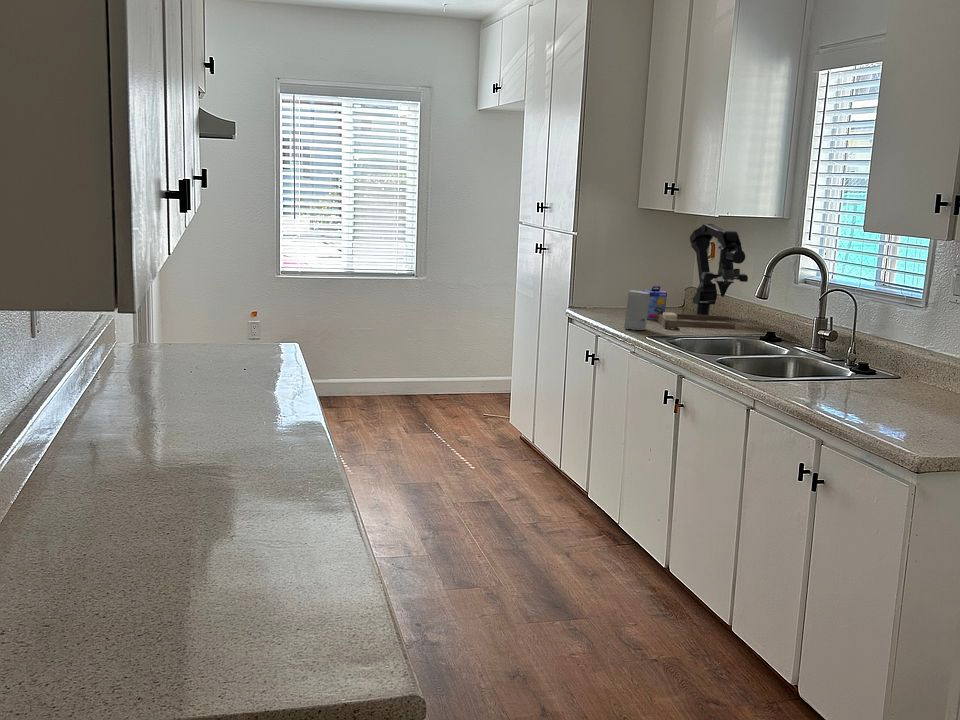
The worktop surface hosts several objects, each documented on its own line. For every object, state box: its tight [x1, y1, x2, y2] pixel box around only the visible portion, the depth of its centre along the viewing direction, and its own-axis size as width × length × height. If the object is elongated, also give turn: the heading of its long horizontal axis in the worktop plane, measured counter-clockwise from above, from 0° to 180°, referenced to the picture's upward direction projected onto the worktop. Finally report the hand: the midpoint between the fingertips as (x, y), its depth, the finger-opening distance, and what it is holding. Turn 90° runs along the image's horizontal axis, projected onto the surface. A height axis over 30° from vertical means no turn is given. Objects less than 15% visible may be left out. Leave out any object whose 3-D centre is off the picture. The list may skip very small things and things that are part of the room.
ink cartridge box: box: [642, 285, 668, 320], centre depth 410 cm, size 10×6×14 cm, turn 101°
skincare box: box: [623, 289, 650, 331], centre depth 383 cm, size 8×7×16 cm
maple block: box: [663, 311, 678, 321], centre depth 396 cm, size 5×5×4 cm
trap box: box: [656, 313, 736, 330], centre depth 397 cm, size 18×29×4 cm, turn 90°
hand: (722, 296), depth 403 cm, fingers closed
